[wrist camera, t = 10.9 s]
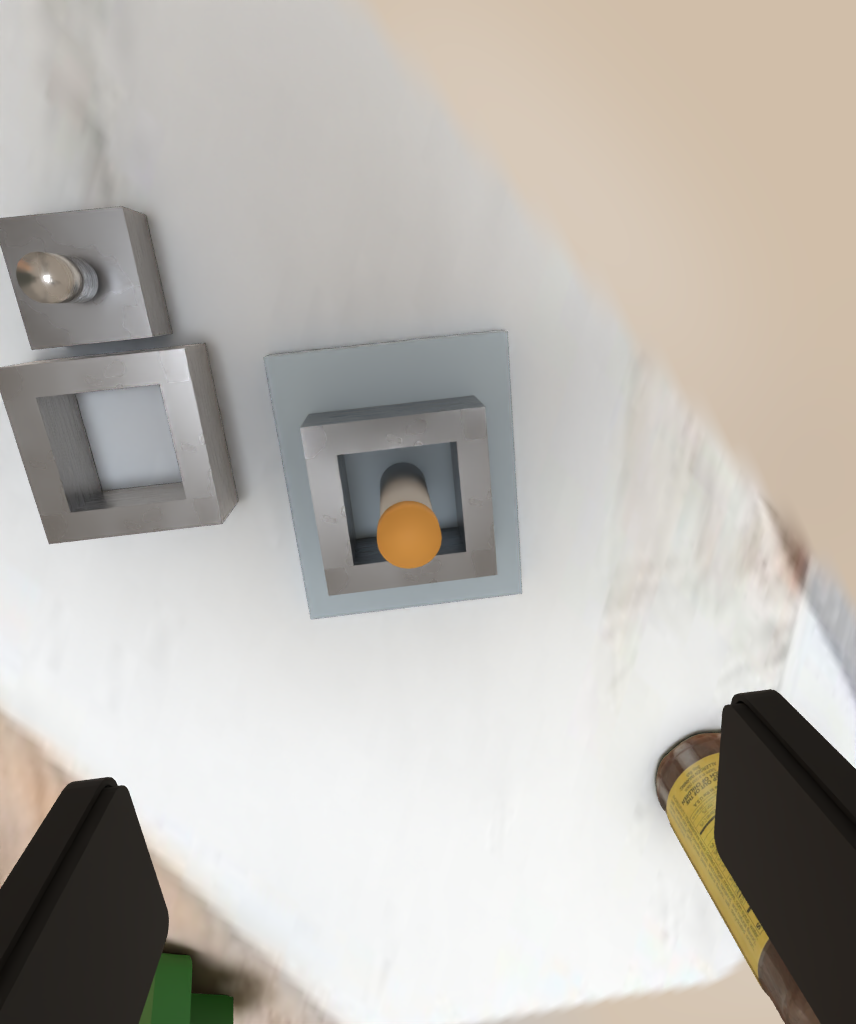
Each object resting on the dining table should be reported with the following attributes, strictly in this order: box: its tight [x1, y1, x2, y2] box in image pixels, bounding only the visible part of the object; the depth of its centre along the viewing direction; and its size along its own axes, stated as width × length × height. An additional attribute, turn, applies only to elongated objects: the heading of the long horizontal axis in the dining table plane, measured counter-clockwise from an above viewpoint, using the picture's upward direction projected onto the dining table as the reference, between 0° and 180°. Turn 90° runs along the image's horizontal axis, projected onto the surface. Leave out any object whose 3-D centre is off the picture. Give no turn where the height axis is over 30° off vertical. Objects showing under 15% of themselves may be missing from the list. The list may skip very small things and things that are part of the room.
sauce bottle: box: [656, 733, 821, 1024], centre depth 26 cm, size 6×6×20 cm
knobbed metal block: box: [0, 206, 172, 350], centre depth 23 cm, size 4×4×5 cm
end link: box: [300, 395, 497, 596], centre depth 26 cm, size 7×7×3 cm
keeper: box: [264, 330, 522, 619], centre depth 25 cm, size 12×10×8 cm
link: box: [0, 343, 238, 544], centre depth 26 cm, size 7×7×3 cm
